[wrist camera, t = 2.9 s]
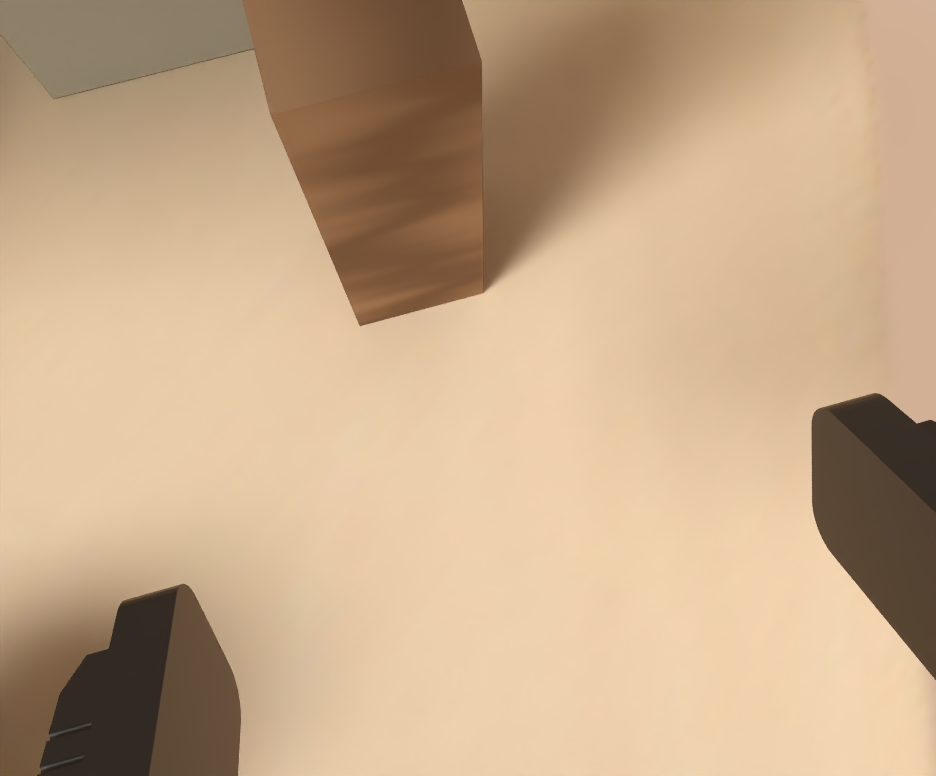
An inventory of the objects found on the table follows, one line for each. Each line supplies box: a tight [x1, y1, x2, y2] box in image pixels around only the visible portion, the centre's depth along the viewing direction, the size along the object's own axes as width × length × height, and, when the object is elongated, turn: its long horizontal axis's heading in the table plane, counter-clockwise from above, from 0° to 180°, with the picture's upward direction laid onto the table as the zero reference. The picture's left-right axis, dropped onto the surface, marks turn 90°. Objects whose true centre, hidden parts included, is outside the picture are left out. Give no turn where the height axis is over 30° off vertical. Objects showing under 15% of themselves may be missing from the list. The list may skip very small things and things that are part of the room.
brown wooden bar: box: [242, 0, 483, 326], centre depth 23 cm, size 4×4×12 cm
